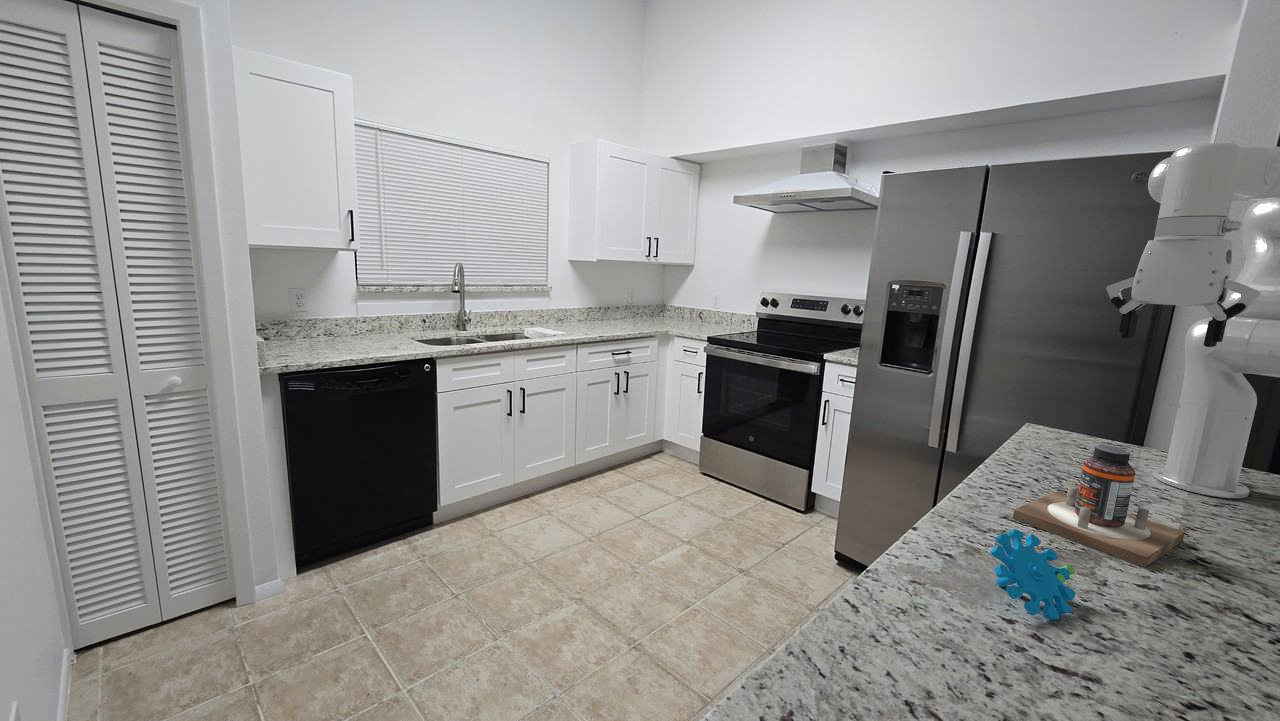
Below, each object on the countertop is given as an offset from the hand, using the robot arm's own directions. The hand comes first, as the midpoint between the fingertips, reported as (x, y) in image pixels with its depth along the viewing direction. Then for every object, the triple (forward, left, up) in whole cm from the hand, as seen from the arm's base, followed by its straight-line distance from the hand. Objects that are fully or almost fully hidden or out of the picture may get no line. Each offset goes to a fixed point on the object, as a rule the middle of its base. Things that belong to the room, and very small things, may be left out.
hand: (1166, 341), depth 85 cm
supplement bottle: (+15, 0, -27) cm, 31 cm away
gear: (+45, +4, -29) cm, 53 cm away
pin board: (+15, 0, -28) cm, 32 cm away
